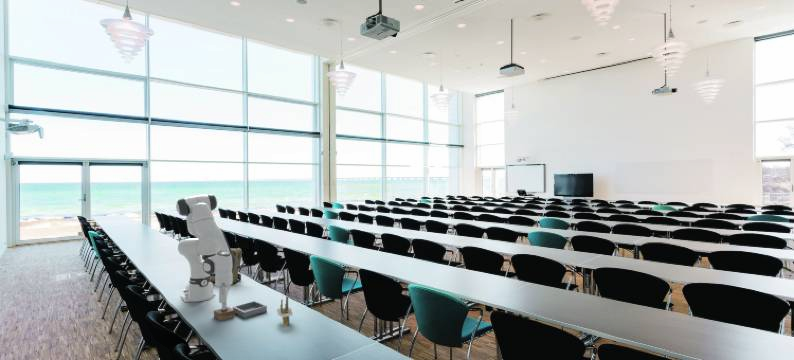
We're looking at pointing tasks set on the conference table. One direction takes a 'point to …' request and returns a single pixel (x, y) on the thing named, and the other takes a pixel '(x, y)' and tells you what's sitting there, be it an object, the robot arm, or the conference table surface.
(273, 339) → the conference table surface
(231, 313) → the block
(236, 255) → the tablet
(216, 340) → the conference table surface
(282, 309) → the architectural model
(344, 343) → the conference table surface
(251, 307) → the gray tray
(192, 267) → the robot arm
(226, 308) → the pin
